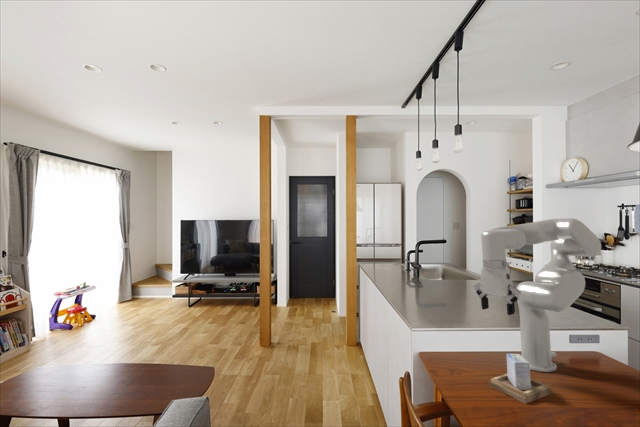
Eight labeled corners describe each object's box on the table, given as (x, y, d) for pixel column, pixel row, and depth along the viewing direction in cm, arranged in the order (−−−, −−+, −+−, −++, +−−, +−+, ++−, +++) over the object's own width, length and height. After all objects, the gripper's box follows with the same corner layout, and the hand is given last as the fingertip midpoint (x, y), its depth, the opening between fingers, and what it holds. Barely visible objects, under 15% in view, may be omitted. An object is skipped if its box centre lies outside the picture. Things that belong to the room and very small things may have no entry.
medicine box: (531, 391, 103) (530, 363, 103) (515, 390, 103) (514, 362, 104) (521, 379, 110) (520, 353, 111) (507, 378, 111) (505, 352, 112)
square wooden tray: (513, 377, 115) (513, 370, 115) (551, 393, 104) (551, 385, 104) (488, 386, 109) (487, 378, 110) (525, 403, 98) (524, 395, 98)
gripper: (524, 265, 114) (528, 314, 113) (479, 261, 129) (482, 305, 128) (512, 267, 110) (515, 318, 110) (467, 263, 125) (470, 308, 125)
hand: (497, 311), depth 119 cm, fingers open, 9 cm apart
